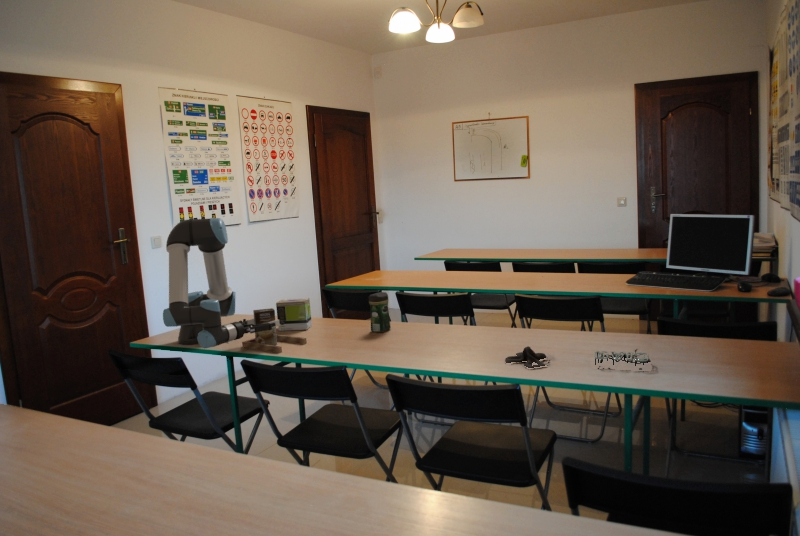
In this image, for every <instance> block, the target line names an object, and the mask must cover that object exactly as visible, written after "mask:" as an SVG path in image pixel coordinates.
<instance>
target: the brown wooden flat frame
mask: <svg viewBox="0 0 800 536" xmlns="http://www.w3.org/2000/svg"><path fill="white" fill-rule="evenodd" d="M276 335H277V342H279V341H280V342H286V343H293V344H300V345H301V344H302V345H306V344H307V343H308V342H307V337H300V336H294V335H293V336H292V335H287V334H286V335H284V334H277V333H276ZM241 345H242V348H243V347H245V348H244V349H249V348H252V349H251V350H256V349H257V351H264V352H271V353H277V354H281V353H283V349H282V346H278V345H267V344H260V343H256V340H255V337H254V338H251V339H247V340H244V341H241Z"/></svg>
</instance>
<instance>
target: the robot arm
mask: <svg viewBox="0 0 800 536" xmlns="http://www.w3.org/2000/svg"><path fill="white" fill-rule="evenodd" d="M228 239H229V238H228V233H227V228H226V224H225V221H224V220H223V219H222V218H219V217H215V218H214V217H210V218H195V219H184V220H182V221H180V222H179V223H178V222H177V224H175V226H174V227H173V228H172V229H171V230H170V232H169V234H168V237H167V239H166V244H165V245H166V247H165V248H166V252H167V253H168V307H167V308H164V309H163V312H162V321H163V324H164V325H165V326H166V327H169V328H170V327H171V328H172V327H179V328H180V329H179V333H178V337H177V341H178V344H179V345H195V344H198V345H199V346H200V347H201V348H203V349H209V348H214V347H217V346H220V345H224V344H229V343H230V342H233V341H237V340H240V339H242V338H243V337H244V335H245V334H255V332H260V331H266V330H269V331H270V330H272V328H273V327H276V328H277V327H278V326H280V323H279V320H278V319H275V321H271V322H268V323H266V324H257V325H254V317H253V318H250V319H247V318H243V319H242V320H239V321H234V322H233V321H232V322H230V323H227V324H223V325H222V317H229V316H234V315H235V314H236V292H235V291H233V290H232V288H231V287H230V286H229V285H228V278H227V272H226V265H225V259H224V258H225V257H224V253H223V249H224V248H225V247H226V244H228V242H229V240H228ZM191 247H198V250H199V251H200V252H202V256H203V260H204V267H205V272H206V279H207V285H208V290H207V292H206V293H204V292H203V291H202V290H201V291H193V292H189V267H188V265H189V263H188V262H189V261H188V260H189V257H188V256H189V255H188V253H189V252H190V251H191Z"/></svg>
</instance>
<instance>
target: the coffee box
mask: <svg viewBox="0 0 800 536" xmlns="http://www.w3.org/2000/svg"><path fill="white" fill-rule="evenodd" d="M253 318H254V325H257V324H266V323H268V322H271V321H275V320H276V312H275V308H263V309H253ZM276 334H277V326H276V327H273V328H272V330H270V331H269V330H266V331H260V332H255V333H254V338H255V340H256V343H260V344H267V345H274V346H278V341H277V335H276Z"/></svg>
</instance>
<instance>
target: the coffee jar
mask: <svg viewBox="0 0 800 536" xmlns="http://www.w3.org/2000/svg"><path fill="white" fill-rule="evenodd" d="M368 304H369V307H370V331H371V332H373V333H377V334H378V333H384V332H387V331H389V330H391V320H390V315H389V314H390V312H389V295H388V293H387V292H385V291H380V292H376V293H373V294H369V296H368Z"/></svg>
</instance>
